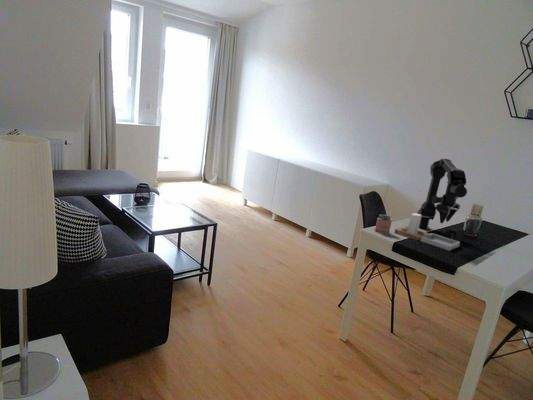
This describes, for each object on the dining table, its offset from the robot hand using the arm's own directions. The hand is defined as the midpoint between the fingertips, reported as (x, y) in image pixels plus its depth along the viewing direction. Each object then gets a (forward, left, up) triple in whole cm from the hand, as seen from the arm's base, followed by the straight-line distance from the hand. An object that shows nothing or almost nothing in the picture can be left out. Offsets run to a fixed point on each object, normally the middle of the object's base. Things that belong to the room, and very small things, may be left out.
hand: (444, 222), depth 196 cm
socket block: (0, -15, -12) cm, 19 cm away
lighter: (+14, -26, -12) cm, 32 cm away
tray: (0, 0, -12) cm, 12 cm away
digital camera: (-17, +2, -12) cm, 21 cm away
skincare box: (0, -15, -12) cm, 20 cm away
